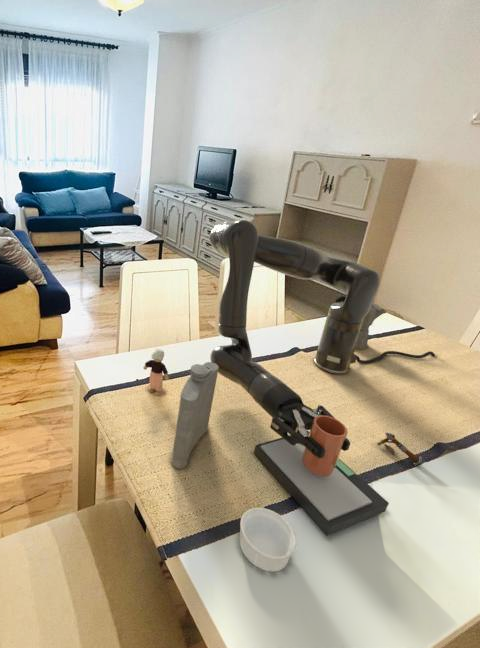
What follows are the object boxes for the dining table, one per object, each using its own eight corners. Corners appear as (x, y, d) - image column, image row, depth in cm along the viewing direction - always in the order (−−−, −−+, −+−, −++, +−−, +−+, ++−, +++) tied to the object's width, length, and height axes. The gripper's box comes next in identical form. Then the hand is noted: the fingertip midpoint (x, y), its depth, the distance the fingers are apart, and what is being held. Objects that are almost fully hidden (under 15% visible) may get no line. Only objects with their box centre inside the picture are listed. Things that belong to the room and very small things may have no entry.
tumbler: (316, 450, 81) (329, 412, 77) (339, 472, 76) (354, 432, 72) (295, 457, 79) (307, 418, 75) (317, 479, 74) (331, 439, 70)
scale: (304, 438, 91) (307, 428, 90) (385, 511, 74) (390, 500, 72) (253, 453, 85) (256, 442, 84) (326, 536, 68) (331, 524, 67)
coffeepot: (376, 346, 135) (393, 299, 128) (368, 355, 128) (385, 306, 122) (330, 329, 145) (343, 285, 138) (321, 337, 138) (334, 291, 132)
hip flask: (182, 471, 80) (195, 392, 72) (165, 462, 82) (175, 384, 74) (209, 426, 92) (222, 355, 85) (193, 419, 94) (204, 349, 87)
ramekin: (261, 585, 60) (266, 567, 59) (225, 534, 68) (229, 516, 66) (302, 563, 64) (308, 546, 62) (264, 517, 71) (269, 500, 69)
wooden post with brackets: (374, 438, 91) (389, 428, 88) (406, 466, 87) (423, 457, 85) (372, 442, 89) (387, 432, 87) (405, 471, 86) (422, 461, 83)
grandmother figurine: (170, 390, 105) (175, 350, 100) (165, 398, 102) (170, 357, 97) (143, 381, 108) (147, 342, 103) (138, 389, 104) (142, 349, 100)
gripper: (251, 388, 84) (312, 444, 69) (302, 377, 89) (368, 427, 74) (245, 415, 87) (302, 475, 72) (294, 403, 92) (357, 457, 77)
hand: (335, 450), depth 73 cm, fingers closed on tumbler, 6 cm apart
